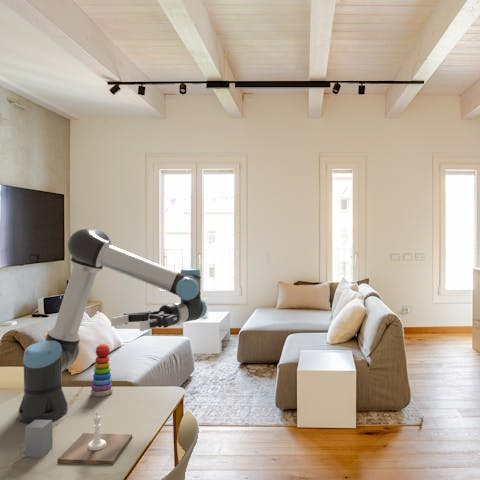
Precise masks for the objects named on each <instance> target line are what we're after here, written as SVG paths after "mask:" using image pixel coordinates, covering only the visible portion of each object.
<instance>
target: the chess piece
mask: <svg viewBox="0 0 480 480" xmlns="http://www.w3.org/2000/svg"><path fill="white" fill-rule="evenodd" d="M94 414H95V416H93V417H92V420H93V423H94V424H93V426H92V428H94V433H95V435H94V440H93V441H91V442H90V443H89V444H88V449H90V450H99V449H102V448H104V447H105V446H106V441H105V440H103V439H101V438H100V434H101V433H100V428H101V427H102V425H101V423H100V420H101V418H102V417H101V416H100V412H99V410H98V409H96V410H95V411H94Z"/></svg>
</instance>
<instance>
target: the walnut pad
mask: <svg viewBox="0 0 480 480" xmlns="http://www.w3.org/2000/svg"><path fill="white" fill-rule="evenodd" d="M99 434H100V438H101V439H103V440H105V441H106V446H105V447H104V448H102V449H99V450H90V449H88V444H89V443H90V442H91V441H93V440H94V435H95V432H94V433H91V432H84V433H82V434H81V435H80V436H79V437H78V438H77V439H76V440H75V441H74V442H73V443H72V444H70V446H69V447H68V448H67V449H66V450H64V452H63V453H62V454H61V455H60V456H59V457H58V458H57V464H77V463H84V464H83V465H106V466H107V465H109V466H110V465H111V466H113V465H114V464H115V463H116V462H117V460H118V458H119V457H120V456H121V455H122V453H123V451H124V450H125V449H126V447H127V446H128V444H129V443H130V442H131V440H132V439H133V434H127V433H125V434H124V433H122V434H121V433H99Z"/></svg>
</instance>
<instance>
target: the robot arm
mask: <svg viewBox="0 0 480 480" xmlns="http://www.w3.org/2000/svg"><path fill="white" fill-rule="evenodd" d="M67 241H68V242H67V249H68V252H69V255H70V256H71V258H70V263H71V265H72V270H71V272H70V276H69V278H68V282H67V285H66V289H65V291H64V294H63V298H62V301H61V305H60V308H59V310H58V315H57V317H56V321H55V324H54V327H53V328H51V329H50V330H48V332H47V333H46V337H45V340H43V341H38V342H37V343H36V342H35V343H32V344H30V345H29V346H27V347H26V348H25V350H24V351H23V359H22V361H23V362H22V363H23V397H22V399H21V402H20V406H19V408H18V411H17V412H18V417H17V419H18V420H19V422H22V423H26V424H30V423H32V422H33V421H34V420H52V421H54V420H56V419H59V418H61V417H63V416H65V415H66V414H67V413H68V409H69V408H68V401H67V399H66V395H65V393H64V390H63V384H62V383H63V376H62V375H63V372H64V371H65V370H66V369H67V368H70V366H72V365H73V364H74V363H75V361H76V360H77V358H78V356H79V353H80V345H79V344H80V340H81V336H80V334H79V330H80V327H81V325H82V320H83V318H84V314H85V311H86V307H87V304H88V302H89V298H90V296H91V291H92V288H93V286H94V283H95V279H96V275H97V273H99V272H100V271H101V270H103V269H104V268H107V269H109V270H112V271H114V272H117V273H120V274H123V275H125V276H128V277H131V278H133V279H136V280H138V281H140V282H142V283H146V284H148V285H151V286H153V287H156V288H159V289H161V290H163V291H166V292H168V293H171V294H173V295H176V296H178V298H180V302H174V303H168V304H165V305H162V306H160V307H159V310H153V311H150V310H148V311H142V312H140V311H139V312H131V313H130V312H129V313H123V315H119V316H115V317H110V322H111V323H110V325H111V327H117V326H122V325H128V324H129V323H135V322H136V323H137V322H139V332H143V331H144V332H145V331H147V330H148V331H149V330H152V329H157V328H162V327H163V329H164V328H168V327H170V326H175V325H177V326H180V324H182V323H183V324H184V323H186V322H191V321H192V322H193V321H197V320H199V319H201V318H204V317H205V315H206V314H207V310H208V309H207V305H206V301H204V300H203V299H201V277H202V276H201V270H200V269H198V268H183V269H181V270H180V272H179V271H176V270H173V269H171V268H168V267H166V266H164V265H161V264H159V263H156V262H155V261H154V262H153V261H151V260H148V259H146V258H143V257H141V256H138V255H137V254H134V253H132V252H129V251H126V250H123V249H121V248H119V247H117V246H114V245H112V241H111V239H110V237H109V235H108V234H106V233H105V232H104V231H101V230H99V229H96V228H94V229H93V228H91V229H89V228H82V229H78V230H76V231H74V233H72V234H71V236H70V237H69V239H68V240H67Z"/></svg>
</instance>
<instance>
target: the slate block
mask: <svg viewBox="0 0 480 480" xmlns="http://www.w3.org/2000/svg"><path fill="white" fill-rule="evenodd" d="M53 448H54V447H53V420H34V421H33V422H32V423H28V425H26V426H25V427H24V457H25V458H44V457H45V456H46V455H48V453H50V452H51V450H52V449H53Z"/></svg>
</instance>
